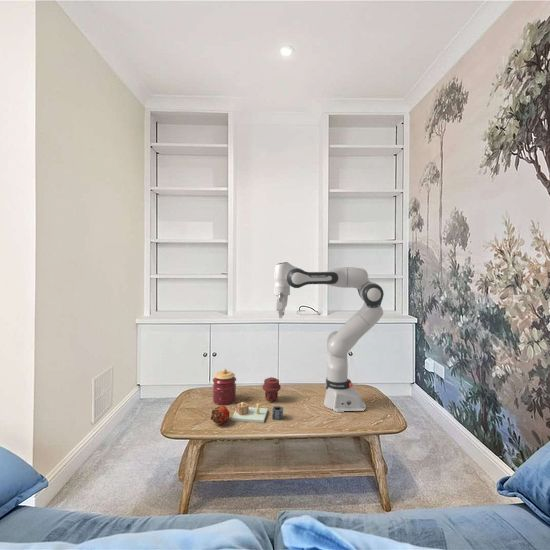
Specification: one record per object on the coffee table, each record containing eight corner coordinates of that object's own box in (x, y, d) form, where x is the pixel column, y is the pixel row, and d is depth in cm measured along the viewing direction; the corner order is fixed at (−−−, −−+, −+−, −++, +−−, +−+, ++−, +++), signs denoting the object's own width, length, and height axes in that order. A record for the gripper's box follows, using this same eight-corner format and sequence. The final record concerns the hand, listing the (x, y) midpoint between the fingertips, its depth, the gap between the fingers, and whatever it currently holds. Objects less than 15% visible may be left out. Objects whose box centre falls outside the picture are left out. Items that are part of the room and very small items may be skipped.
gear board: (267, 410, 169) (267, 399, 169) (263, 422, 156) (263, 410, 156) (237, 408, 171) (237, 396, 171) (231, 420, 159) (231, 407, 158)
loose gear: (283, 415, 164) (283, 406, 164) (282, 420, 159) (282, 411, 159) (273, 414, 165) (273, 406, 165) (272, 419, 160) (272, 410, 160)
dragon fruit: (216, 432, 150) (220, 423, 162) (231, 421, 151) (234, 412, 163) (206, 416, 151) (210, 409, 163) (221, 405, 152) (224, 398, 164)
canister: (208, 403, 178) (208, 371, 177) (219, 394, 190) (219, 364, 189) (229, 406, 174) (229, 374, 173) (239, 397, 186) (240, 366, 185)
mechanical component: (280, 396, 187) (280, 404, 177) (263, 396, 187) (262, 403, 177) (280, 375, 187) (280, 382, 177) (263, 375, 187) (262, 381, 177)
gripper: (285, 293, 168) (285, 320, 168) (289, 290, 188) (289, 314, 189) (273, 293, 169) (273, 319, 169) (278, 290, 189) (278, 313, 190)
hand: (281, 316), depth 179 cm, fingers open, 8 cm apart
